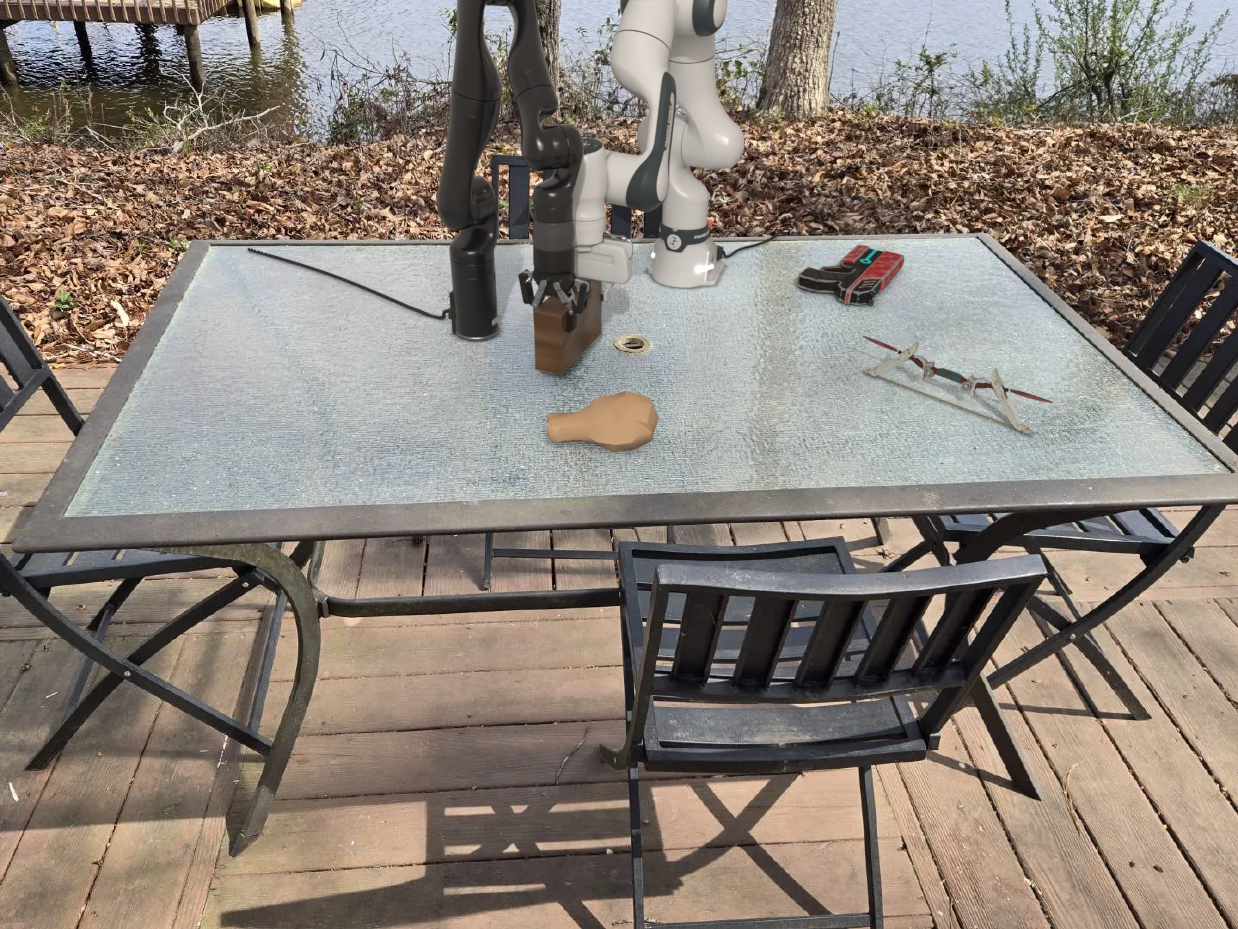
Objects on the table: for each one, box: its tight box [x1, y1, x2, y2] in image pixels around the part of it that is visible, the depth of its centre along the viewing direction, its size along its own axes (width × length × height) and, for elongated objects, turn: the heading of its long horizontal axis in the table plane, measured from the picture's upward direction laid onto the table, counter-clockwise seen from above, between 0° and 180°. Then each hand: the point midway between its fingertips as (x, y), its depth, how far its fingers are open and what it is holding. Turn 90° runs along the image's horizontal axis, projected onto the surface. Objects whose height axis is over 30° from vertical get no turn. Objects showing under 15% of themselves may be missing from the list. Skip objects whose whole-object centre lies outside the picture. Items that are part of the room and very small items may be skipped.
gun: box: [796, 244, 905, 307], centre depth 222 cm, size 4×31×19 cm
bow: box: [861, 335, 1054, 434], centre depth 169 cm, size 39×2×10 cm, turn 47°
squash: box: [545, 390, 660, 452], centre depth 154 cm, size 11×20×9 cm, turn 90°
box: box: [533, 277, 603, 376], centre depth 173 cm, size 20×6×12 cm, turn 159°
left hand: (555, 327), depth 167 cm, fingers closed on box, 5 cm apart
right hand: (582, 296), depth 176 cm, fingers open, 8 cm apart
